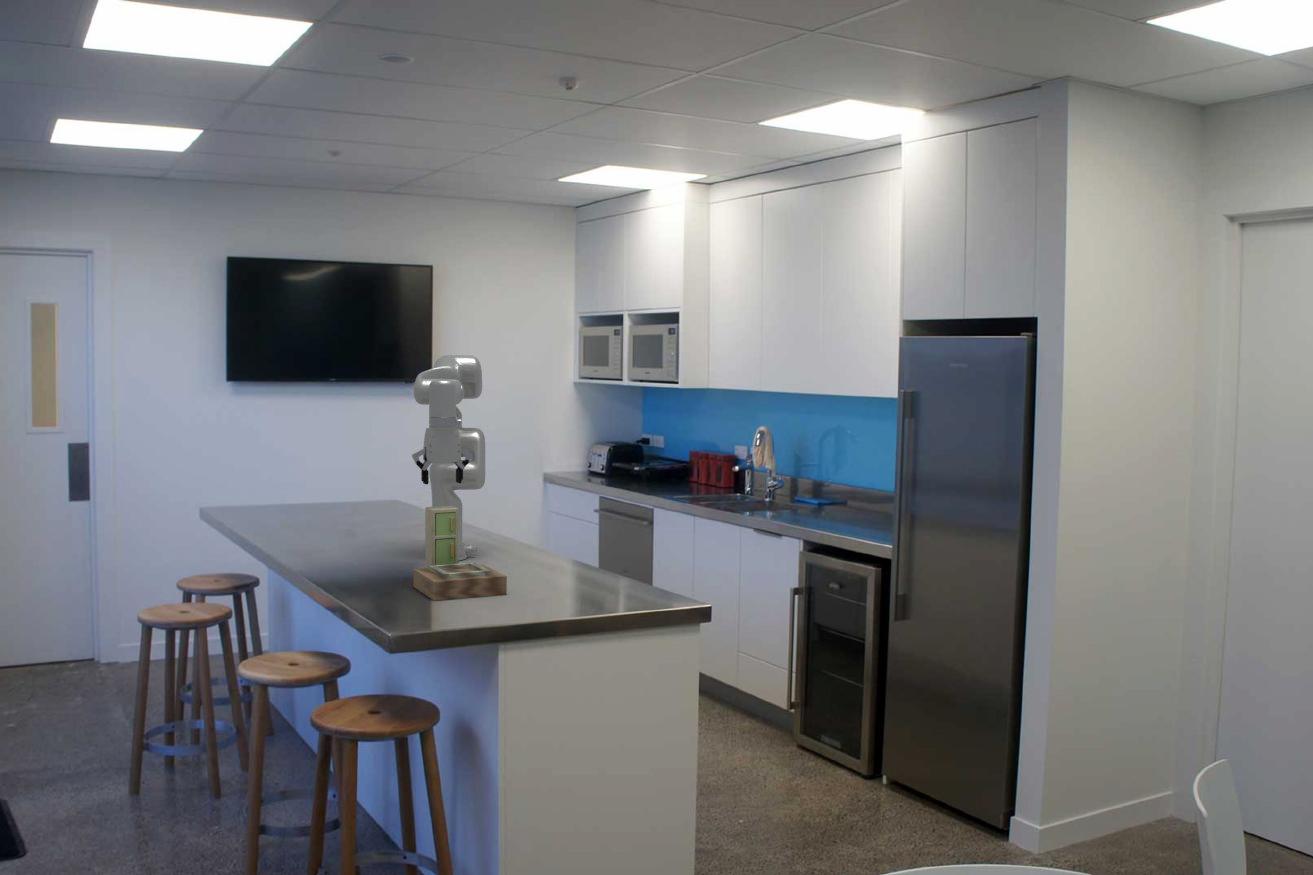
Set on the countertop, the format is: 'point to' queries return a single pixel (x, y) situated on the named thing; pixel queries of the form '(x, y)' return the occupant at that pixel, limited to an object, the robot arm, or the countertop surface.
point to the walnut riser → (459, 581)
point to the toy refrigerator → (441, 535)
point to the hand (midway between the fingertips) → (442, 483)
